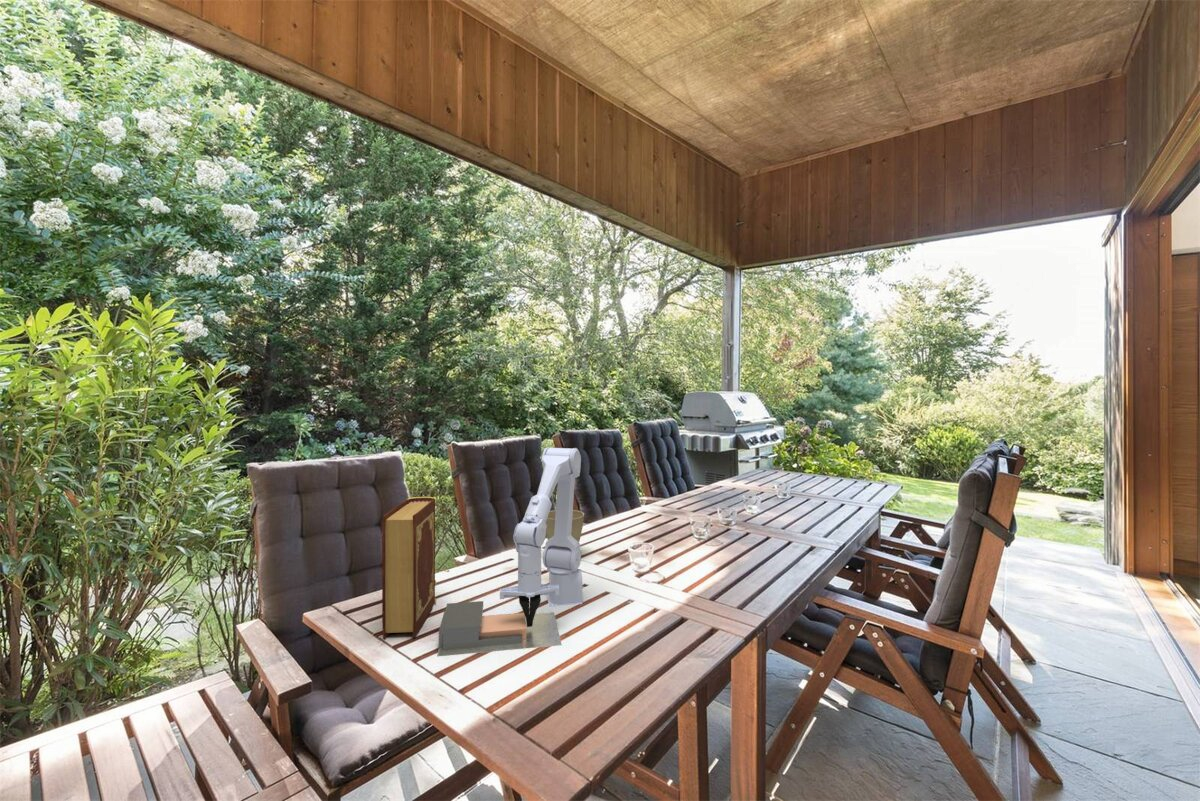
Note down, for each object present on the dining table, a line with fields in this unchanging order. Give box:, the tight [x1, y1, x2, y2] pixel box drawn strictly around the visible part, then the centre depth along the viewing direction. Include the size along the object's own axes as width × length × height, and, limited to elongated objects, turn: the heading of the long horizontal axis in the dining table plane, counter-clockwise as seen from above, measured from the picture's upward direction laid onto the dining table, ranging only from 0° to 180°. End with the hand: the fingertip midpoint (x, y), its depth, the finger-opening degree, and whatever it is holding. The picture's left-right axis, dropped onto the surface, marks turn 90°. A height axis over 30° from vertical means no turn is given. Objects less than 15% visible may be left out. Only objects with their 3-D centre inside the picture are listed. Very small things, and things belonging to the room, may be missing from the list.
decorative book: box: [381, 496, 437, 641], centre depth 131 cm, size 22×8×30 cm, turn 5°
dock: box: [436, 600, 562, 657], centre depth 123 cm, size 28×18×6 cm, turn 101°
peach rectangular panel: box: [479, 612, 526, 639], centre depth 122 cm, size 16×9×2 cm, turn 101°
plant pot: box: [546, 509, 585, 548], centre depth 181 cm, size 15×15×16 cm
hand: (529, 624), depth 124 cm, fingers closed
